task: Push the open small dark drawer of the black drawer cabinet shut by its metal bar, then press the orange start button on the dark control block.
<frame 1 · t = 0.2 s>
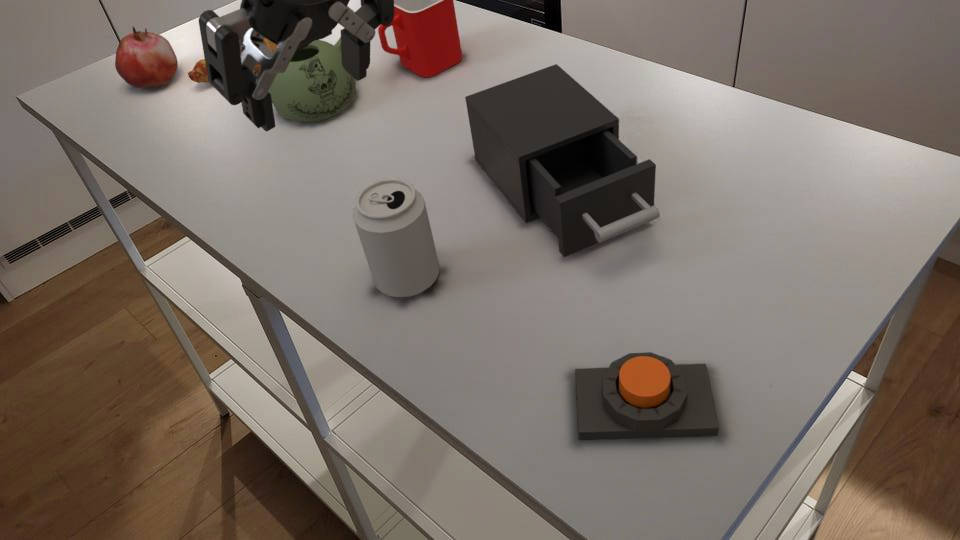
hand: (310, 97, 58), 29 cm above the table, tool tilted 20°, fingers open, 8 cm apart
can: (408, 279, 85), on the table
mug 2: (326, 100, 114), on the table
mug: (422, 67, 117), on the table
control block: (643, 404, 69), on the table
croissant: (254, 64, 125), on the table
fruit: (157, 82, 125), on the table
small dark drawer: (587, 188, 84), point 5 cm above the table, slide at 7.0 cm
black drawer cabinet: (544, 172, 95), on the table
start button: (644, 381, 67), point 3 cm above the table, slide at 0.1 cm
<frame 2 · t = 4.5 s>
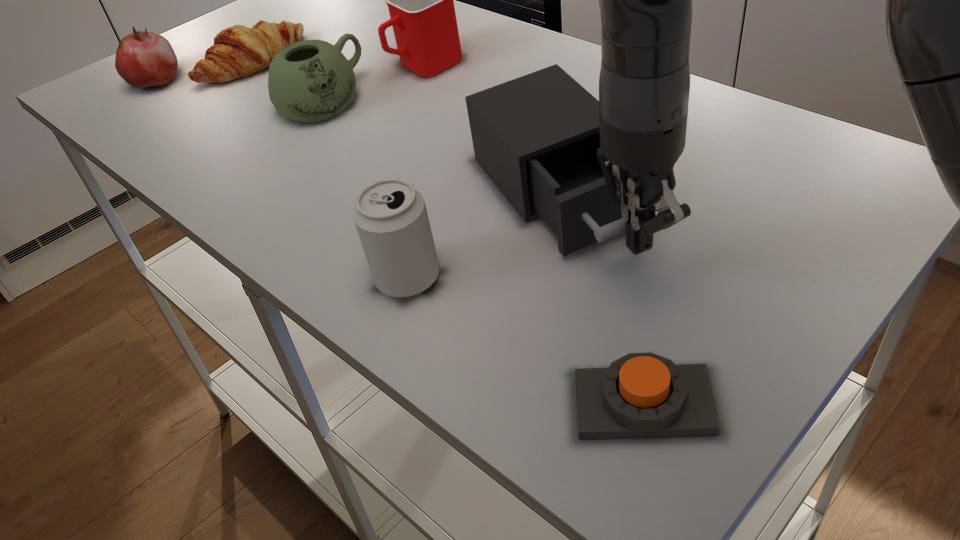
hand: (638, 248, 77), 4 cm above the table, tool pointing down, fingers closed
small dark drawer: (586, 188, 84), point 5 cm above the table, slide at 6.9 cm, touching gripper
everything else where it was.
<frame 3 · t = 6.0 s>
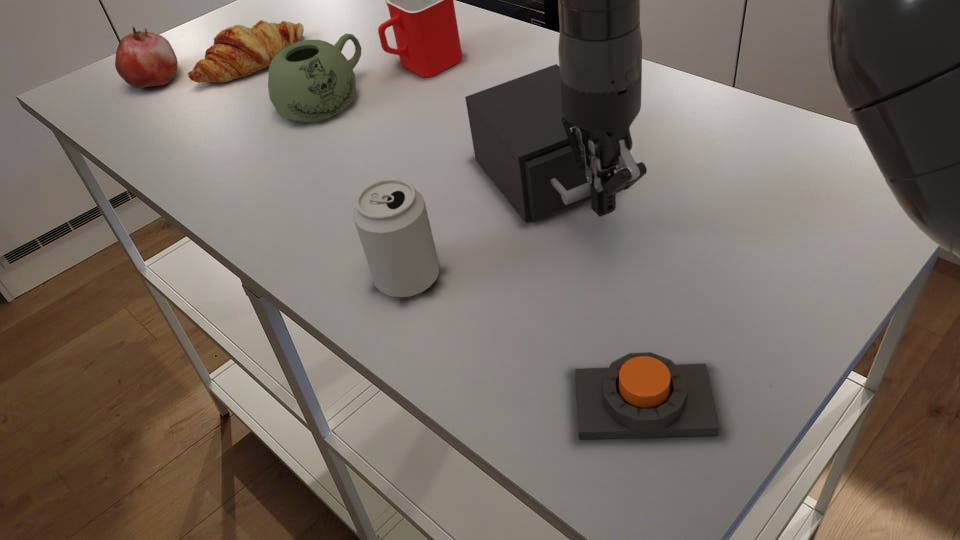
hand: (603, 210, 82), 4 cm above the table, tool pointing down, fingers closed
small dark drawer: (557, 157, 89), point 5 cm above the table, slide at 0.0 cm, touching black drawer cabinet, gripper
everything else where it was.
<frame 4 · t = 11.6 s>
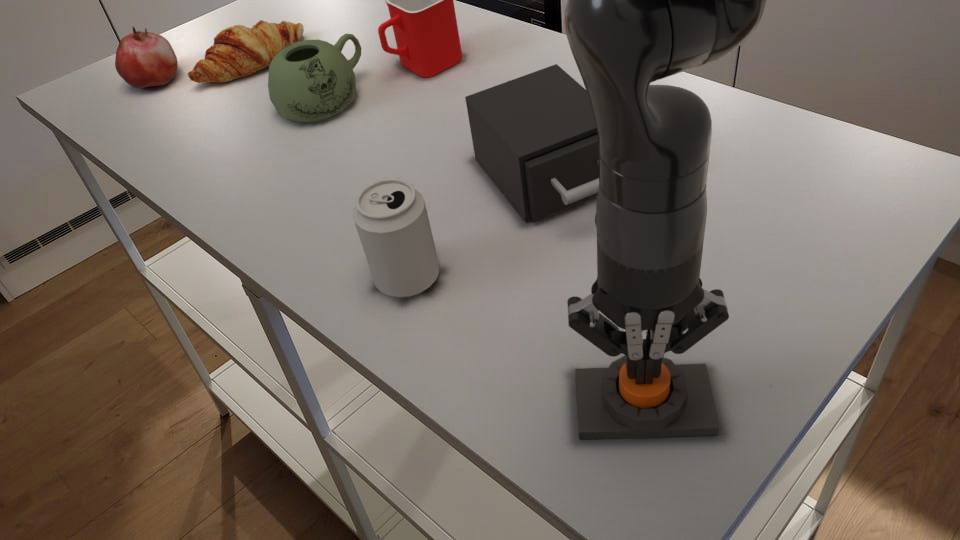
hand: (643, 375, 66), 4 cm above the table, tool pointing down, fingers closed
small dark drawer: (557, 157, 89), point 5 cm above the table, slide at 0.0 cm
start button: (644, 382, 67), point 3 cm above the table, slide at 0.0 cm, touching gripper
everything else where it was.
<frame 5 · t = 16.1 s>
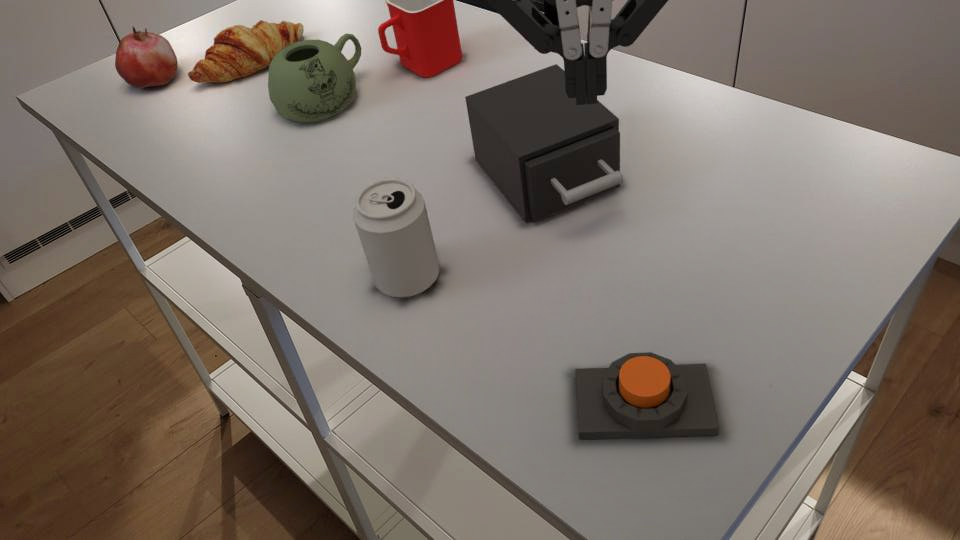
hand: (586, 98, 53), 29 cm above the table, tool pointing down, fingers closed
start button: (644, 381, 67), point 3 cm above the table, slide at 0.1 cm
everything else where it was.
at the end: small dark drawer slide at 0.0 cm; start button pushed in 1.1 cm at the most during the clip, back to where it started at the end; start button slide at 0.1 cm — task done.
